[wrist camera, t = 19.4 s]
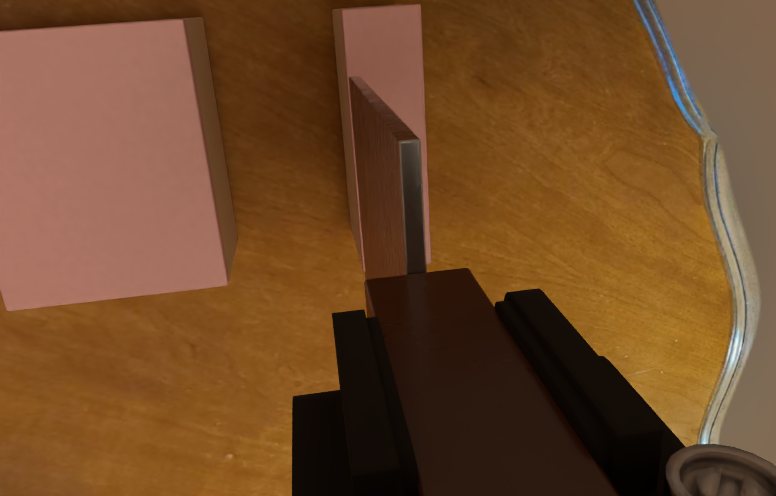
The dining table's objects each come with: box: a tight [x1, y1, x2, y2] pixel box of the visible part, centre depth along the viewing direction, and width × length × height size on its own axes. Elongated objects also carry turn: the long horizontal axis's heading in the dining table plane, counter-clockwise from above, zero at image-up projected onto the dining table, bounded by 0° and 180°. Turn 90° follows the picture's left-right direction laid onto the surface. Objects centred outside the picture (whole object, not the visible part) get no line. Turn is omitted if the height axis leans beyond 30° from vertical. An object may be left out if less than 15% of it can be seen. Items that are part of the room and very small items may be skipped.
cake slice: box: [332, 4, 431, 271], centre depth 32 cm, size 12×3×7 cm, turn 4°
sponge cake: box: [0, 17, 238, 311], centre depth 31 cm, size 12×10×7 cm
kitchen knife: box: [349, 76, 620, 496], centre depth 14 cm, size 8×2×18 cm, turn 4°
